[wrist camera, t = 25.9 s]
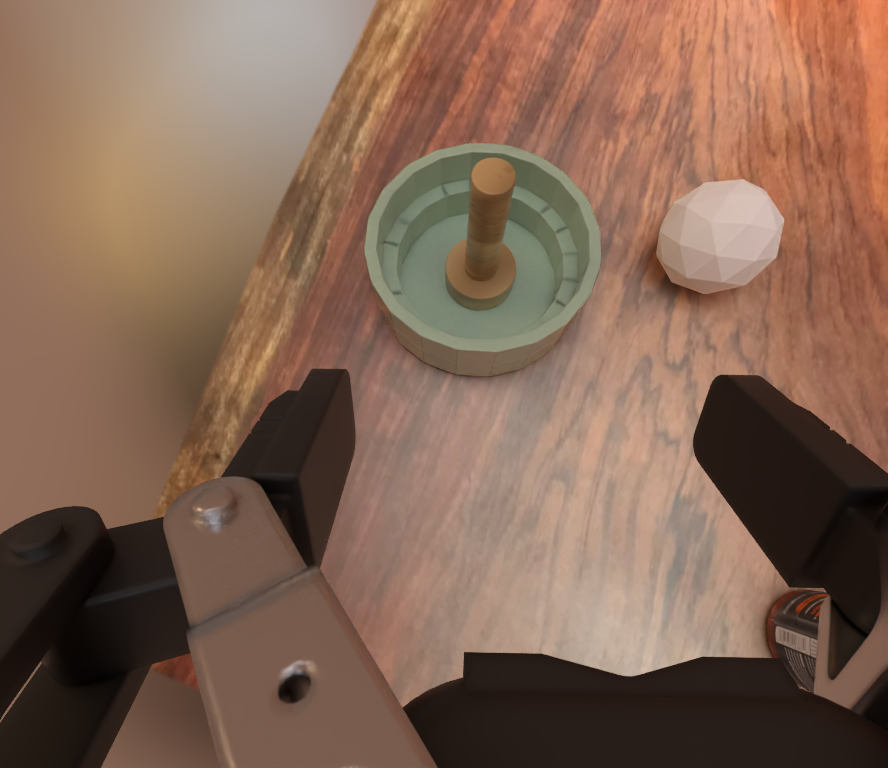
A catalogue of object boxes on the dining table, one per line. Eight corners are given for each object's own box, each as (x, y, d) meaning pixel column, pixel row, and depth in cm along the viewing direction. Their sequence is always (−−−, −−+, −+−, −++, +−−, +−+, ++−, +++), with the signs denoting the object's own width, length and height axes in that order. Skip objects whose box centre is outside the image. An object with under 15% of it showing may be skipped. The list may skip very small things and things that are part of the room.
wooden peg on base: (431, 283, 35) (425, 180, 24) (473, 238, 37) (485, 119, 25) (484, 323, 35) (502, 235, 24) (526, 275, 36) (561, 169, 25)
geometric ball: (658, 299, 39) (637, 281, 32) (677, 202, 38) (659, 163, 31) (767, 306, 34) (768, 287, 28) (790, 197, 34) (797, 151, 27)
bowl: (337, 295, 36) (316, 253, 30) (463, 166, 39) (466, 106, 33) (493, 420, 33) (503, 401, 27) (615, 271, 36) (647, 226, 31)
